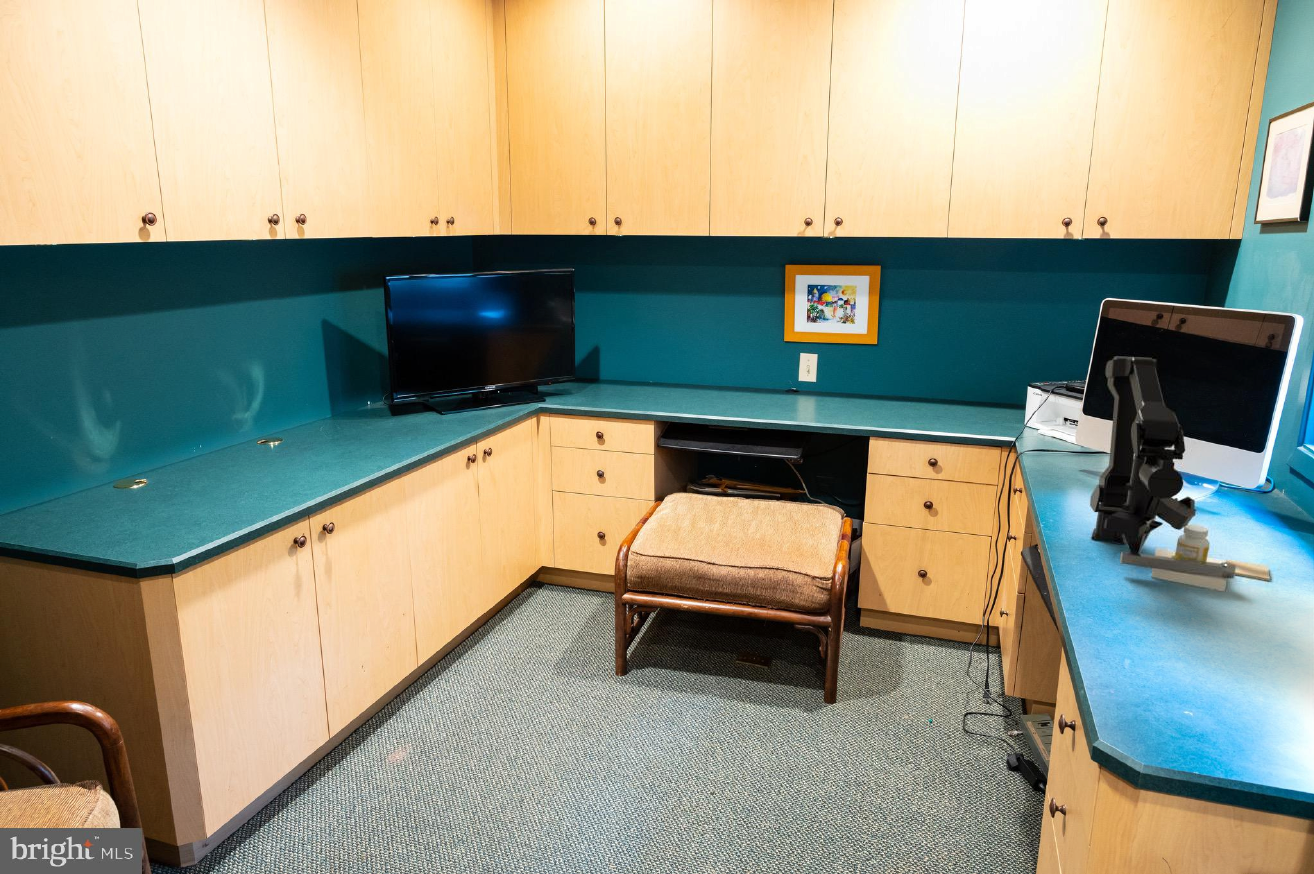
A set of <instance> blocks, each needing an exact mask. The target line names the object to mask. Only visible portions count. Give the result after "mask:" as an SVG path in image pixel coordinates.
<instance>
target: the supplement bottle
mask: <svg viewBox="0 0 1314 874" xmlns="http://www.w3.org/2000/svg"><path fill="white" fill-rule="evenodd" d="M1182 531H1183V534H1181V535H1179V536H1178V538H1177V542H1176V547H1175V548H1176V549H1175V558H1179V559H1188V560H1196V561H1204V562H1206V561H1207V557H1208V555H1209V550H1210V544H1211V543H1210V541H1209V539H1208V538H1207V537H1208V535H1209V529H1208V528H1207V527H1205V526H1203V525H1198V524H1193V523H1188V525H1187V526H1185V527H1183V530H1182Z"/></svg>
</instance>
